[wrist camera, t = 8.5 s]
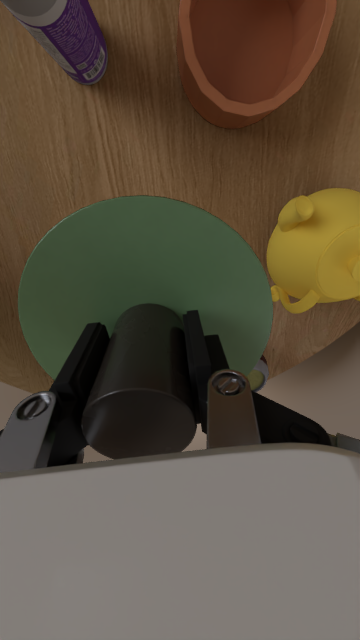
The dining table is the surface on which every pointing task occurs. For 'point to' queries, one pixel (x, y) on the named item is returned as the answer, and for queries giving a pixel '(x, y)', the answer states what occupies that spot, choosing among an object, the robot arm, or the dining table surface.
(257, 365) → the mate gourd
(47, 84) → the dining table surface
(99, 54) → the container
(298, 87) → the bowl
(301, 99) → the dining table surface
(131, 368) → the lid
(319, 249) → the teapot
